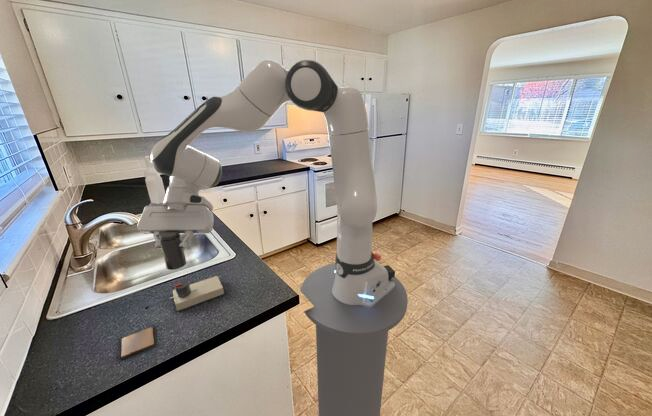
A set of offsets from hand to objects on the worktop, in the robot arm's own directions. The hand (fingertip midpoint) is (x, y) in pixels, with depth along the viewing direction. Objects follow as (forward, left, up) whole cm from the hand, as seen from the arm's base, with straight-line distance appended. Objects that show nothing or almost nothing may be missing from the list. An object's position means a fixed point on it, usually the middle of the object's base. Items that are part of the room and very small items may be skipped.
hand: (170, 247), depth 74 cm
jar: (0, -1, -6) cm, 6 cm away
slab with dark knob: (-5, -5, -21) cm, 22 cm away
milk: (-1, -103, -22) cm, 105 cm away
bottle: (-1, -115, -22) cm, 117 cm away
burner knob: (-1, -5, -19) cm, 20 cm away
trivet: (+12, +6, -21) cm, 26 cm away
